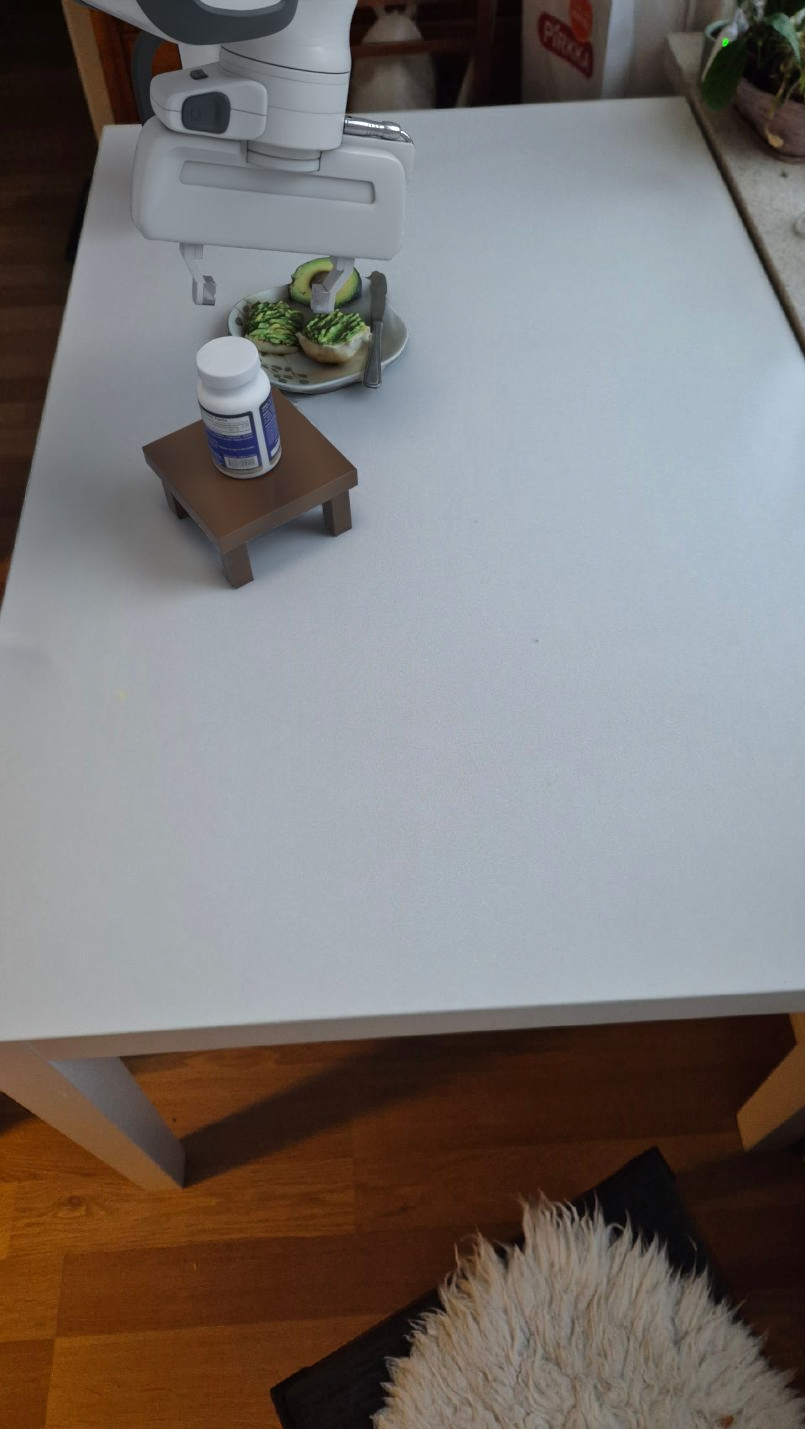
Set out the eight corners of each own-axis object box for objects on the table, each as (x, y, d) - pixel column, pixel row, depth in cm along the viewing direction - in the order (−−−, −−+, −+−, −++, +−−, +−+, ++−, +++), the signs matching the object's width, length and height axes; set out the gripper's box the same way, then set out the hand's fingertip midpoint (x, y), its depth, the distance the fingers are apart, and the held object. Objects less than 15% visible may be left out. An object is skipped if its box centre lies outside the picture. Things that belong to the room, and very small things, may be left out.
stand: (233, 597, 84) (218, 539, 78) (159, 507, 90) (141, 446, 84) (362, 529, 88) (357, 469, 82) (283, 446, 94) (274, 385, 88)
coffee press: (204, 161, 122) (146, -155, 96) (335, 168, 120) (310, -151, 95) (166, 244, 112) (90, -81, 87) (307, 253, 111) (271, -76, 86)
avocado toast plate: (451, 377, 99) (452, 337, 95) (281, 432, 95) (275, 392, 91) (371, 272, 108) (369, 231, 105) (214, 318, 105) (206, 278, 101)
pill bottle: (251, 423, 85) (232, 320, 77) (296, 456, 83) (281, 353, 75) (198, 458, 83) (172, 356, 75) (242, 492, 81) (221, 391, 72)
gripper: (405, 115, 76) (375, 301, 85) (127, 75, 69) (125, 283, 77) (434, 136, 72) (400, 330, 80) (140, 96, 64) (137, 314, 73)
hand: (263, 307), depth 79 cm, fingers open, 8 cm apart
